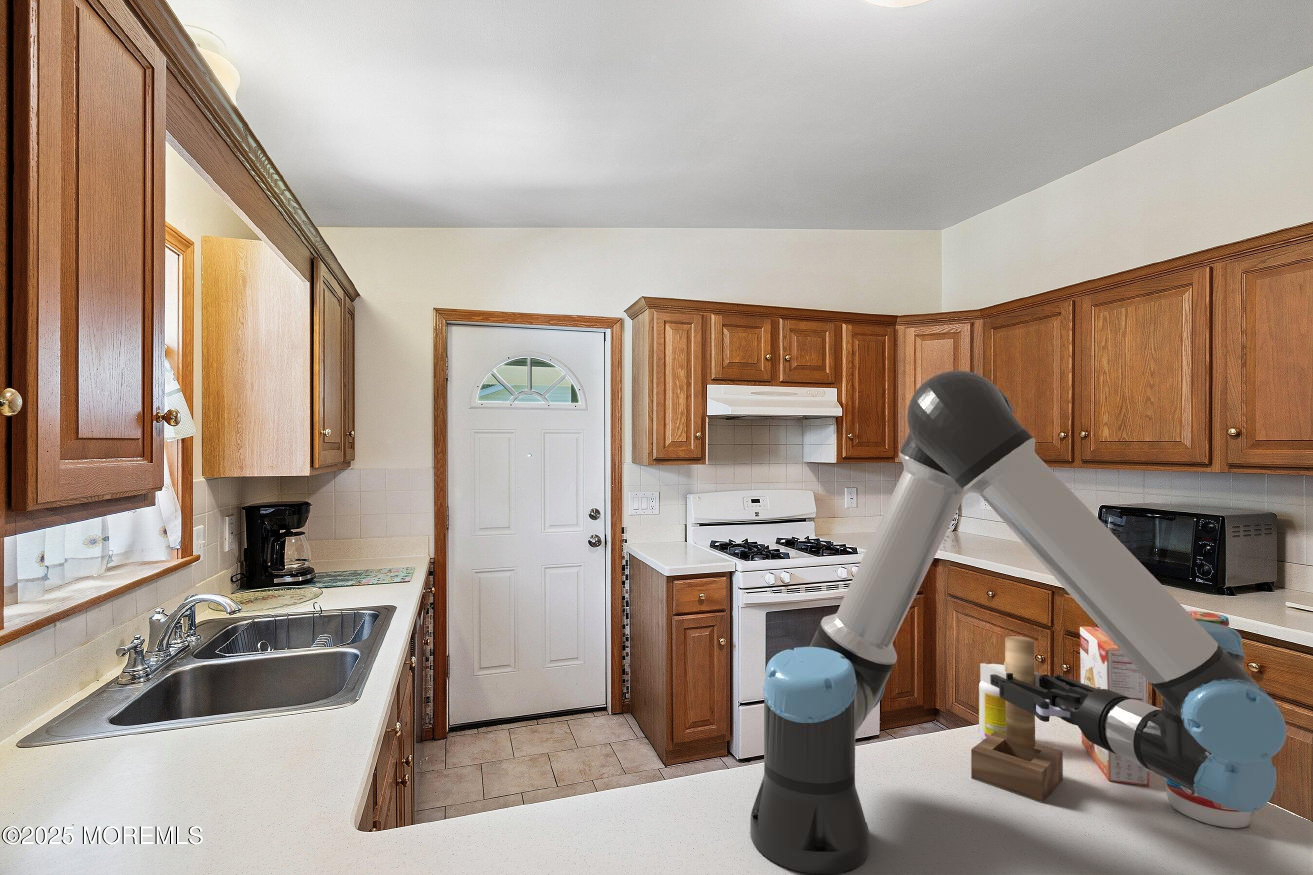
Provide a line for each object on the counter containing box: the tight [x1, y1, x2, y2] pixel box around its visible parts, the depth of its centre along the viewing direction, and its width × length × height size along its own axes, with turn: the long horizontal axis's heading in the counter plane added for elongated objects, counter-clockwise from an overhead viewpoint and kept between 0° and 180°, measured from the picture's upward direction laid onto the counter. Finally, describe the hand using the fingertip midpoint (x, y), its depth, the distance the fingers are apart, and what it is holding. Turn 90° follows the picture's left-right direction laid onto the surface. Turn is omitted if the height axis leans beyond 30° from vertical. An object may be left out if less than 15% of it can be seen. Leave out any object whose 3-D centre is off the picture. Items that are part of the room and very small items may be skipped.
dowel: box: [1004, 635, 1036, 749], centre depth 104 cm, size 4×4×16 cm
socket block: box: [970, 731, 1064, 804], centre depth 104 cm, size 10×10×4 cm
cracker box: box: [1079, 626, 1151, 787], centre depth 110 cm, size 14×6×21 cm, turn 162°
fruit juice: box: [1166, 610, 1253, 829], centre depth 96 cm, size 9×9×28 cm
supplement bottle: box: [978, 663, 1006, 741], centre depth 118 cm, size 7×7×13 cm
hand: (994, 670), depth 110 cm, fingers closed on dowel, 4 cm apart
